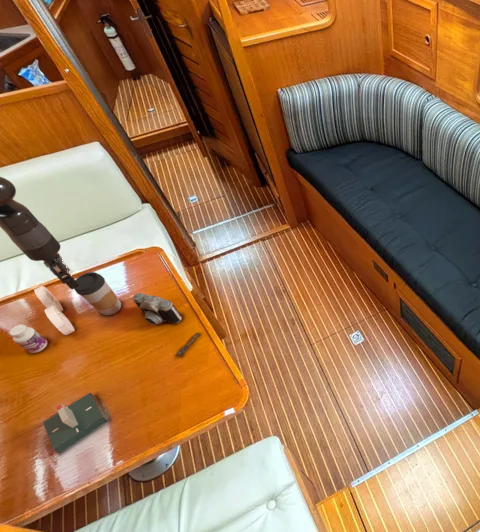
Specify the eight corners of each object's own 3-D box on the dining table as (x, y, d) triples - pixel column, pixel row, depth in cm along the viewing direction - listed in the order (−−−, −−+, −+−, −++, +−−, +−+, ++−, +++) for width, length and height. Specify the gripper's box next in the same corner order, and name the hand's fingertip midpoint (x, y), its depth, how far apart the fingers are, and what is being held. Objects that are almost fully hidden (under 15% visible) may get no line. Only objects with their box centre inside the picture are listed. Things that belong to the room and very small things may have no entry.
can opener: (197, 333, 129) (196, 332, 129) (202, 336, 129) (201, 335, 128) (175, 355, 124) (173, 353, 123) (180, 358, 123) (178, 356, 123)
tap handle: (78, 424, 107) (67, 417, 103) (72, 428, 106) (61, 421, 103) (71, 410, 109) (61, 403, 106) (66, 414, 109) (55, 407, 105)
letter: (50, 302, 138) (30, 284, 131) (57, 298, 139) (38, 280, 132) (70, 340, 128) (50, 323, 120) (78, 336, 129) (58, 318, 121)
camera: (135, 320, 133) (119, 302, 126) (149, 305, 137) (135, 287, 130) (171, 332, 130) (157, 314, 123) (184, 316, 134) (172, 298, 127)
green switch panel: (60, 452, 105) (53, 449, 102) (49, 426, 109) (42, 421, 107) (108, 420, 111) (101, 416, 108) (95, 396, 115) (89, 391, 113)
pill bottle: (31, 356, 124) (9, 340, 117) (26, 346, 126) (4, 330, 119) (50, 345, 126) (29, 329, 119) (45, 336, 129) (24, 319, 122)
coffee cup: (111, 296, 140) (87, 268, 129) (130, 302, 138) (107, 274, 127) (92, 314, 135) (65, 286, 124) (111, 321, 133) (85, 293, 122)
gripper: (10, 233, 106) (49, 273, 118) (24, 260, 100) (64, 299, 111) (42, 220, 110) (76, 260, 122) (58, 245, 103) (92, 285, 115)
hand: (70, 279), depth 117 cm, fingers open, 8 cm apart
